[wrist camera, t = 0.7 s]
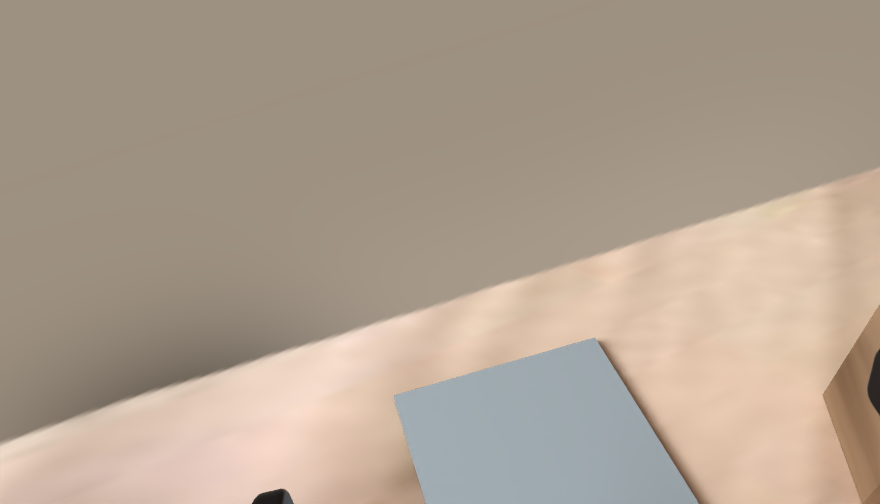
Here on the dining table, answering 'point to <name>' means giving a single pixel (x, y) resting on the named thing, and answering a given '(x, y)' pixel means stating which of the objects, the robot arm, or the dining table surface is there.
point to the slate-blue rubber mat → (538, 436)
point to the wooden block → (858, 413)
